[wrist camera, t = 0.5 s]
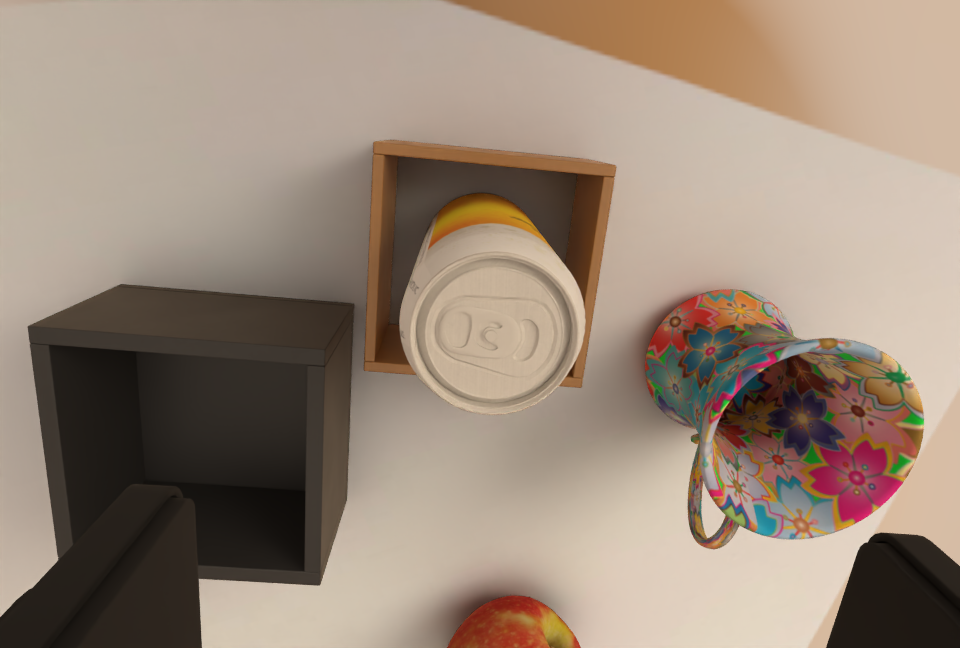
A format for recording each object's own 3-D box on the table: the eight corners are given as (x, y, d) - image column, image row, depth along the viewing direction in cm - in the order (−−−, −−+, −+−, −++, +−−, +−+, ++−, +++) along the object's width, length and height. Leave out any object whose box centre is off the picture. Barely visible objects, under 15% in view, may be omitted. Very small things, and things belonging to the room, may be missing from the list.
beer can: (523, 311, 34) (567, 439, 20) (416, 292, 34) (382, 410, 19) (547, 203, 32) (614, 259, 18) (434, 181, 32) (412, 222, 18)
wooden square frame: (389, 139, 31) (373, 141, 26) (589, 159, 32) (616, 165, 26) (379, 331, 34) (363, 371, 29) (561, 346, 35) (581, 388, 29)
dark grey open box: (120, 283, 33) (27, 326, 26) (354, 303, 34) (325, 349, 27) (137, 485, 37) (59, 571, 30) (347, 499, 38) (320, 586, 30)
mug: (684, 251, 34) (781, 304, 23) (824, 317, 35) (972, 393, 25) (584, 431, 37) (630, 546, 27) (715, 485, 38) (807, 614, 28)
